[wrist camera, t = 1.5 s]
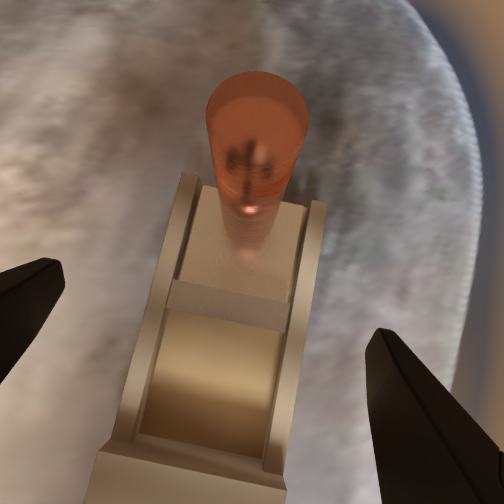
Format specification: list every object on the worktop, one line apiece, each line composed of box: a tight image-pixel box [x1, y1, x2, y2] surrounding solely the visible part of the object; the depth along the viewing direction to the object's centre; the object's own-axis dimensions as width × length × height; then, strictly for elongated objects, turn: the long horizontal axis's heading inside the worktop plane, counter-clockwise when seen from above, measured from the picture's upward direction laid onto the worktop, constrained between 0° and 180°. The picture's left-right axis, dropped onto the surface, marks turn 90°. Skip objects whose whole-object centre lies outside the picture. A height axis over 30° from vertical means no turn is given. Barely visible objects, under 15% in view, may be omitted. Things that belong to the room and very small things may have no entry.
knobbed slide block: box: [166, 71, 309, 333], centre depth 15 cm, size 8×6×11 cm
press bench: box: [84, 173, 328, 504], centre depth 19 cm, size 18×9×4 cm, turn 168°
